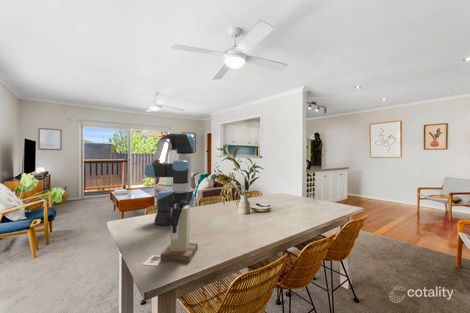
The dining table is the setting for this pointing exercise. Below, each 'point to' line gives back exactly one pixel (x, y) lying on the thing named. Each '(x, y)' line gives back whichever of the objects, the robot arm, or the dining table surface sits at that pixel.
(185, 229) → the toy refrigerator
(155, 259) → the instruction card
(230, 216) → the dining table surface
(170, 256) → the walnut plinth
